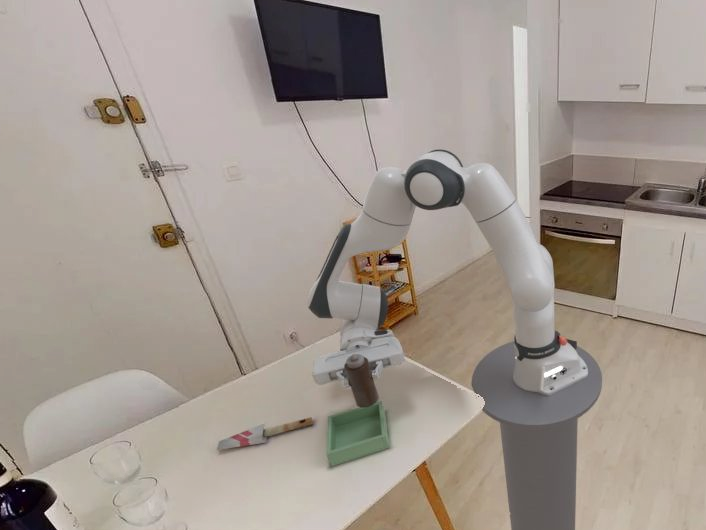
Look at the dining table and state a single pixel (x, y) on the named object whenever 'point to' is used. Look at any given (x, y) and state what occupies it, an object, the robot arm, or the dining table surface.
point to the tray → (356, 433)
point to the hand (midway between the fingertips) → (361, 381)
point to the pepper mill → (361, 380)
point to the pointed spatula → (260, 434)
